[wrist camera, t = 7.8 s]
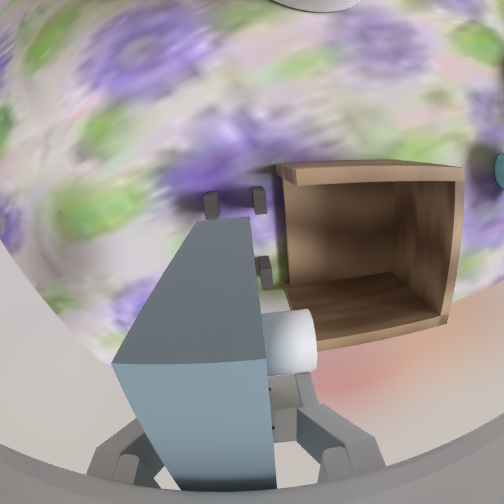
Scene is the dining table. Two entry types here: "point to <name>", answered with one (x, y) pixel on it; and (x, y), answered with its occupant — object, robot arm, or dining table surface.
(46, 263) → the dining table surface
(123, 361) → the door
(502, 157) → the cupcake
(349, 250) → the cabinet
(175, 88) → the dining table surface
